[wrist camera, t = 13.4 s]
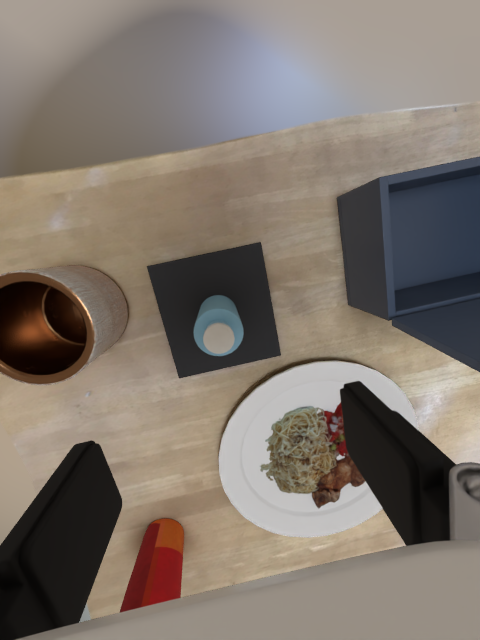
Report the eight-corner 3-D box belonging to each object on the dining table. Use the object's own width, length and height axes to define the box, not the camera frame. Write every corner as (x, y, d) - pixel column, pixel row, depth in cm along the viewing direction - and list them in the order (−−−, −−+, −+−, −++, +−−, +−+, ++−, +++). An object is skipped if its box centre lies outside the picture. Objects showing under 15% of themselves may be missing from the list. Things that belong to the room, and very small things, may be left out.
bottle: (195, 299, 33) (185, 319, 23) (232, 291, 34) (239, 307, 23) (204, 335, 35) (199, 369, 24) (240, 327, 35) (250, 357, 25)
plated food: (185, 493, 41) (182, 513, 38) (278, 321, 36) (284, 328, 32) (346, 546, 46) (356, 568, 43) (447, 403, 41) (467, 416, 38)
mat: (148, 266, 33) (146, 266, 32) (260, 242, 33) (260, 242, 33) (179, 376, 36) (179, 378, 36) (279, 353, 37) (280, 355, 36)
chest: (336, 197, 33) (379, 177, 24) (489, 165, 33) (583, 134, 25) (348, 305, 36) (388, 320, 27) (486, 274, 37) (568, 280, 28)
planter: (105, 252, 32) (60, 251, 23) (144, 334, 35) (117, 363, 25) (19, 283, 32) (-62, 294, 23) (64, 362, 35) (9, 402, 25)
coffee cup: (143, 557, 43) (106, 710, 29) (133, 517, 41) (87, 660, 27) (195, 548, 44) (184, 694, 29) (187, 508, 42) (172, 644, 27)
